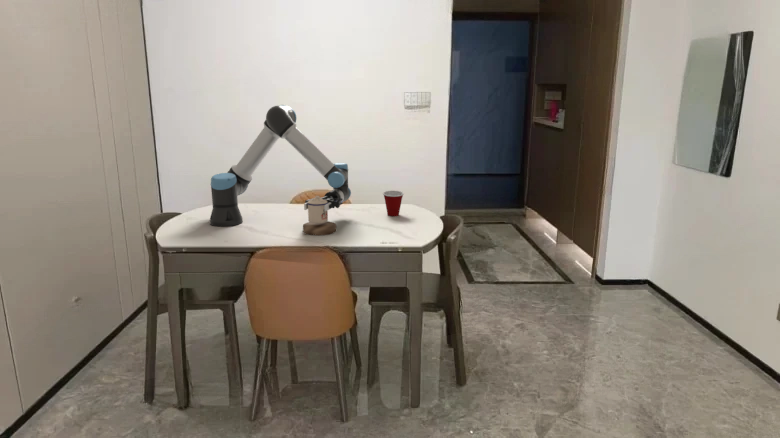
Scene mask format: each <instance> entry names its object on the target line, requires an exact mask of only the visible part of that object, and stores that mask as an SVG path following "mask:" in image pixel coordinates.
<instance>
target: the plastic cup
mask: <svg viewBox="0 0 780 438" xmlns="http://www.w3.org/2000/svg"><path fill="white" fill-rule="evenodd" d="M404 194H405V192H403V191H400V190H385V191H383V192H382V195H383V198H384V201H385V202H384V203H385V208H386V213H387V216H389V217H398V216H399V215H400V210H401V205H402V200H403V196H404Z"/></svg>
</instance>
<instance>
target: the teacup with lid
mask: <svg viewBox="0 0 780 438" xmlns="http://www.w3.org/2000/svg"><path fill="white" fill-rule="evenodd" d="M313 198H314V199H312V198H311V199H312V200H310V201H308V203H307V204H308V209H307V212H308V213H307V215H308V219H307V220H308V222H310V223H325V222H327V221H329V219H328V211H329V210H327V211H324V205H326V204H328V202H327V201H326V200H323V199H322V197H320V195H315V197H313Z"/></svg>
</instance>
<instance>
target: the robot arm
mask: <svg viewBox="0 0 780 438" xmlns="http://www.w3.org/2000/svg"><path fill="white" fill-rule="evenodd" d="M263 126H264V127H263V128H262V129H261V131H260V133H259V134H258V135H257V136H256V138H255V139H254V140H253V142H252V143H251V145H250V146H249V147H248V149H247V150H246V152H245V153H244V155H243V156H242V157H241V159H240V160H239V161H238V162H237V164H234V165H232V166H231V167H230V168H229V170H227V172H222V173H216V174H214V175H213V176H211V177H210V178H211V179H210V189H211V190H210V191H211V203H212V208H211V212H210V213H211V214H210V218H209V224H210V225H211V226H214V227H231V226H237V225H241V224H243V223H244V222H243V216H242V213H241V211H240V207H239V203H238V196H240V195H242V194H244V193H245V192H246V190H247V189H248V187H249V184H250V183H251V182H252V180H253V178H252V175H253V174H254V172H255V171H256V169H257V168H258V167H259V165H260V164H261V163H262V162H263V160H264V159H265V158H266V156H267V155H268V153H269V152H270V151H271V150H272V148H273V147H274V146H275V144H276V143H277V141H278V140H279V139H285V141H287V142H288V144H290V145H291V146H292V147H293V148H294V149H295V150H296V151H297V152H298V153H299V154H300V155H301V156H302V157H303V158H304V159H305V160H306V161H307V162H308V163H309V164H310V165H311V166H312V167H313V168H314V169H315V170H316V171H317V172H318V173H319V174H320V175H321V176H323V177H324V178H325V180H326V181H327V182H328V185H329V186H330V187H331V188H332V190H330V191H328V192H327V191H326V193H324V195H323V197H321V198H322V199H323V200H326V201H327V202H328V204H326V205H324V211H329V210H331V209H335V208H337V209H339V208H340V207H341V205H343V203H344V202H346V201H348V200H349V199H350V198H351V195H352V192H351V189H350V187H349V167H348V163H346V162H335V163H334V162H332V161H331V160H330V158H328V157H327V156H326V155H325V154H324V153H323V152H322V151H321V150H320V149H319V148H318V147H317V146H316V145H315V144H314V143H313V142H312V141H311V140H310V139H309V138H308V137H307V136H306V135H305V133H303V132H302V131H301V130H300V129H299V128H298V127H297V115H296V111H295V110H294V109H293V108H292V107H290V106H289V105H286V104H280V105H274V106H272V107H270V108H269V109H268V111H267V112H266V115H265V120H264V122H263ZM314 198H315V197H313V198H310V199H309V198H308V199H306V200H305V202H304V203H303V207H304V208H303V210H304V211H306V210H307V211H308V204H307V203H308V201H310V200H312V199H314Z"/></svg>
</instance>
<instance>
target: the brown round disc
mask: <svg viewBox="0 0 780 438" xmlns="http://www.w3.org/2000/svg"><path fill="white" fill-rule="evenodd" d="M302 232H303V234H306V235H308V236H309V235H310V236H328V235H333V234H335V233H336V232H337V224H336V222H334V221H330V220H328V221H327V222H325V223H310V222H309V221H308V222H305V223H304V224H303V225H302Z"/></svg>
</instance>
